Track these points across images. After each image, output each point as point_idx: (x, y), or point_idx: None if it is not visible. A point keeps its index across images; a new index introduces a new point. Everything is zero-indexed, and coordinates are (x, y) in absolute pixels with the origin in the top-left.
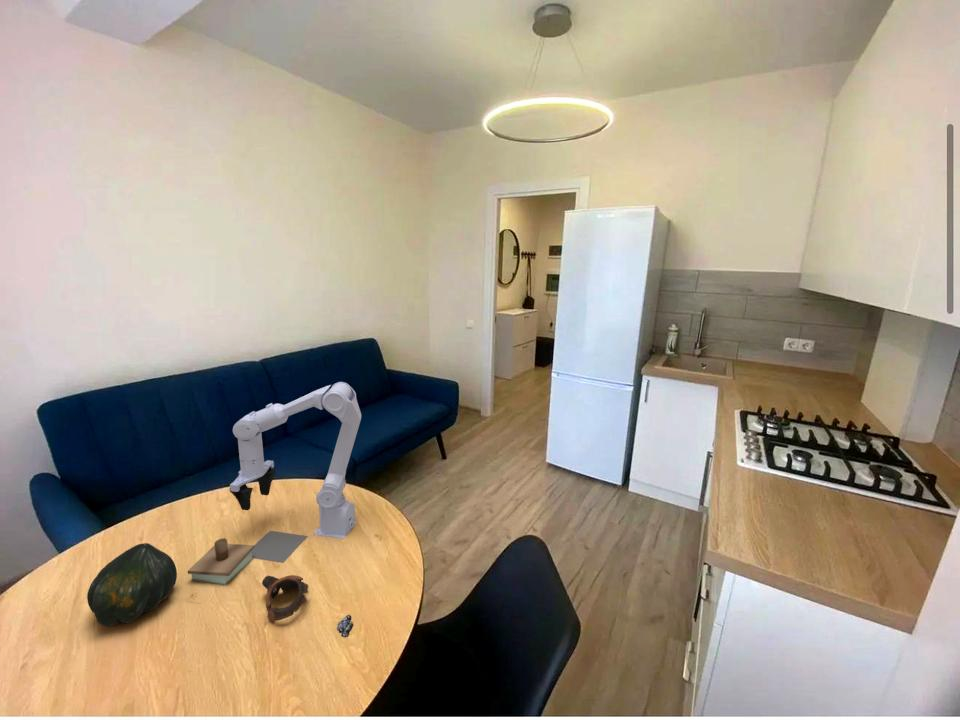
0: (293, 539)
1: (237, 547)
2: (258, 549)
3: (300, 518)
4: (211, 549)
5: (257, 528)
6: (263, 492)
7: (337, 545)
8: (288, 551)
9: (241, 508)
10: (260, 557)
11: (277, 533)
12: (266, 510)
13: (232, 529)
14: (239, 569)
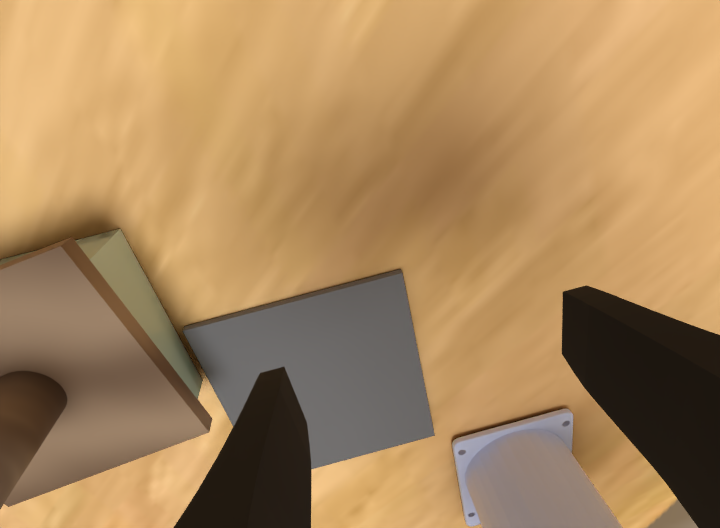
0: (392, 409)
1: (138, 385)
2: (262, 351)
3: (548, 303)
4: (2, 280)
5: (397, 176)
6: (582, 339)
7: (430, 523)
8: (321, 451)
9: (255, 383)
10: (231, 400)
11: (398, 322)
12: (584, 39)
13: (316, 17)
14: None
